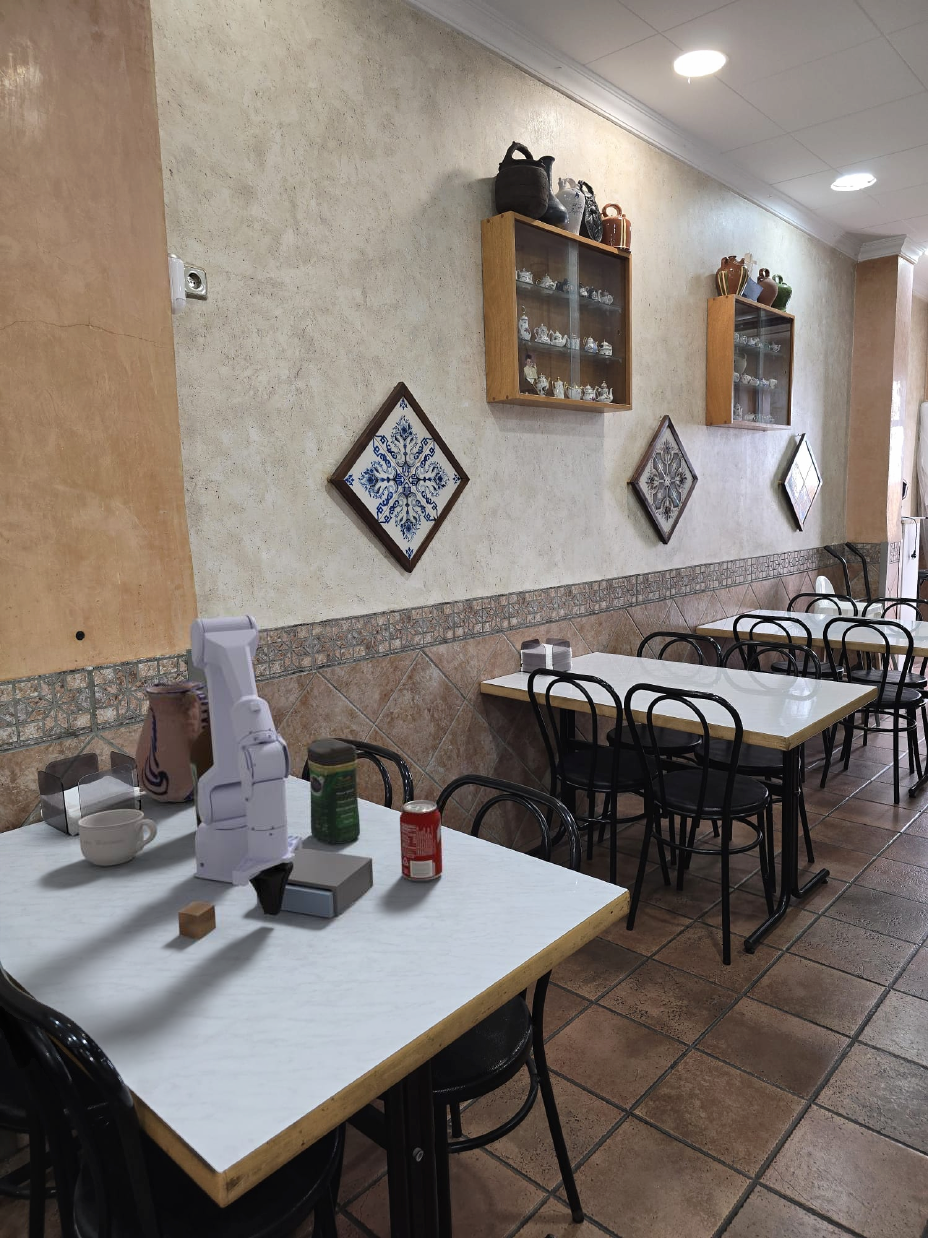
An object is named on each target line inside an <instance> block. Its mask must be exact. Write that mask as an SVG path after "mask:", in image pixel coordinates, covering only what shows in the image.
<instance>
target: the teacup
mask: <svg viewBox="0 0 928 1238" xmlns="http://www.w3.org/2000/svg"><path fill="white" fill-rule="evenodd" d="M77 826H78V835H79V837H78V838H79V845H80V851H81V854H82V856H83V857H84V859H86V860H87V861H89V862H91V863H92V864H93V865H95V866H102V867H103V866H114V865H120V864H123V863H126V862H128V861H131V860H132V859H133V858H134V857H136V855H137V854H138V853H139V852H141V851H143V850H144V848H145V846H147V845H149V844H150V843H152V842H153V841H154V839H155V838H156V836H157V834H158V827H157V825H156V823H155V822H154V821H153V820H151V819H149V818H146V819H144V812H142V811H141V810H138V809H129V808H125V809H124V808H122V809H121V808H120V809H114V810H113V809H112V810H105V811H101V812H100V811H99V812H97V813H93V814H90V815H86V816H84V817H83V818H82V817H81V818H80V819H79V820H78V821H77ZM144 826H147V828H148V829H149V835H148V837H147V838H146V839H145V837H144V835H145V834H144V833H145V829H144Z"/></svg>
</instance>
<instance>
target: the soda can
mask: <svg viewBox="0 0 928 1238" xmlns="http://www.w3.org/2000/svg"><path fill="white" fill-rule="evenodd" d="M437 807H438V806H437V803H435V802H434V801H431V800H426V799H424V800H423V799H421V800H420V799H419V800H413V801H409V802H407V803H405V804H403V806H402V808H403V809H402V812H401V814H400V815H399V834H400V835H399V837H400V839H399V840H400V861H401V864H400V866H401V875H402V877H404V878H406V879H408V880H410V881H413V882H417V883H418V882H419V883H424V882H429V881H432V880H435V879H436V878H438V877H439V876H440V875H441V874H442V873H443V851H442V850H443V849H442V846H443V845H442V844H443V843H442V817H441V816H442V815H441V813H440V812H439V810H438V809H437Z"/></svg>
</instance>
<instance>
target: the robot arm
mask: <svg viewBox="0 0 928 1238" xmlns="http://www.w3.org/2000/svg"><path fill="white" fill-rule="evenodd" d="M189 636H190V648H191V649H190V650H191V651H190V652H191V661H192V662H193V667H195V668H196V669H200V670H203V672H204V674H205V679H206V684H207V685H206V686H207V697H208V698H207V700H208V702H209V711H210V723H211V736H212V748H213V760H214V765H213V766H212V767H211V768H210V769H209V770H208V771H207V772H206V773H205V774H204V775H203V776H202V777H201V778H200V779H199V782H198V798H197V800H198V810H199V815H200V819H201V821H202V823H201V824H200V825H199V827H198V829H197V828H196V832H195V837H194V844H195V845H194V848H195V849H194V850H195V861H196V863H195V864H196V872H194V873H193V877H195V878H199V879H206V880H212V881H213V880H214V881H217V882H219V881H220V882H224V883H231V884H232V885H234V886H240V887H247V885H249V883H250V884H251V887H253V889H254V891H255V893H256V896H257V895H258V898H259V901H260V904H261V906H260V907H261V910H262V912H263V915H267V916H272V917H276V916H277V915H279V914H280V913H281V910H282V909H281V906H282V901H283V896H284V891H285V887H286V884H287V881H288V878H289V876H290V874H291V872H292V870H293V862H291V861H292V860H293V859H295V854H294V853H292V852H293V851H294V850H300V849H301V848H303V842H302V841H303V840H302V836H301V835H295V834H290V835H289V832H288V816H287V815H288V814H287V813H288V810H287V794H286V792H287V791H286V790H287V789H286V780H285V779H288V778H289V776H290V775H291V758H290V753H289V749H288V745H287V743H286V741H285V739H283V737H282V735H281V733H277V731H276V728H275V727H276V726H275V724H274V720H273V717H272V713H271V710H270V707H269V704H268V702H267V701H266V700H265V699H263V698H261V697H259V694H258V689H257V685H256V680H255V672H254V667H253V662H252V660H253V659H254V658H255V656H256V653H257V649H258V648H259V647H258V646H259V640H260V637H259V636H260V635H259V628H258V623H257V621H256V619H255V618H254V617H253V616H252V615H251V614H246V615H241V616H228V617H227V616H226V617H217V618H215V617H214V618H203V619H200V618H195V619H194V620H193V621H192V623H191V624H190V633H189ZM284 778H285V779H284ZM239 781H240V782H239ZM233 782H234V783H233ZM227 783H228V784H227ZM222 784H223V785H222Z"/></svg>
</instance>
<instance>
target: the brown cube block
mask: <svg viewBox="0 0 928 1238" xmlns="http://www.w3.org/2000/svg"><path fill="white" fill-rule="evenodd" d="M177 918H178V931H179V932H178V933H179V936H181V937H182V936H183V937H187V938H192V939H196V940H197V939H198V940H201V939H202V938H203V937H205V936H207V934H209V933H210V932H212V931H213V930H215V929H216V928H217V922H216V905H215V904H211V903H206V902H201V901H193V902H191V903H189V904H188V905H187V906H185V907H183V908H182V909H180V910H179V911H177Z"/></svg>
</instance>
